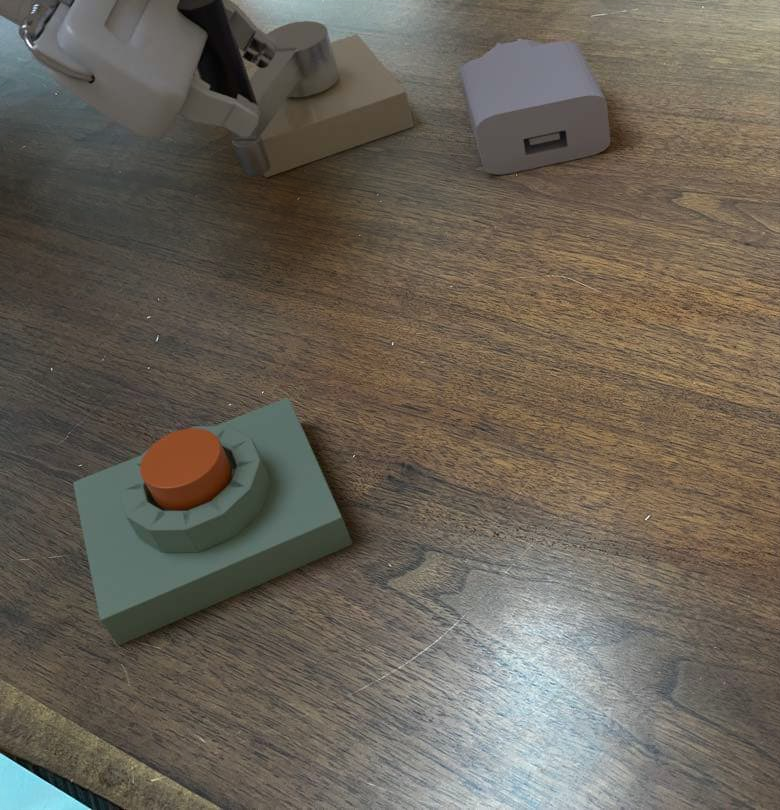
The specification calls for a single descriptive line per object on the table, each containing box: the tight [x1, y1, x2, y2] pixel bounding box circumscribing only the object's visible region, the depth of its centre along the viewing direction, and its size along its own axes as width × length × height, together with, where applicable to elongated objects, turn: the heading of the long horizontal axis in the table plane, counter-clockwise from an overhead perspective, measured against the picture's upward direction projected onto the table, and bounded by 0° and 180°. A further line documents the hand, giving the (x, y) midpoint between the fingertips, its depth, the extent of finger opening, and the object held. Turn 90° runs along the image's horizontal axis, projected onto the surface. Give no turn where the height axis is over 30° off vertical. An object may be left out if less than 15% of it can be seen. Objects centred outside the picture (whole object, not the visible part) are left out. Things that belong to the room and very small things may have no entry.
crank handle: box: [177, 0, 339, 177], centre depth 77 cm, size 15×5×12 cm, turn 168°
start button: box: [140, 427, 232, 511], centre depth 54 cm, size 4×4×2 cm
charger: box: [459, 37, 611, 175], centre depth 81 cm, size 5×9×15 cm
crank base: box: [246, 33, 414, 179], centre depth 85 cm, size 12×12×3 cm
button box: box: [72, 396, 353, 647], centre depth 55 cm, size 12×10×4 cm
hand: (264, 89), depth 72 cm, fingers open, 8 cm apart
